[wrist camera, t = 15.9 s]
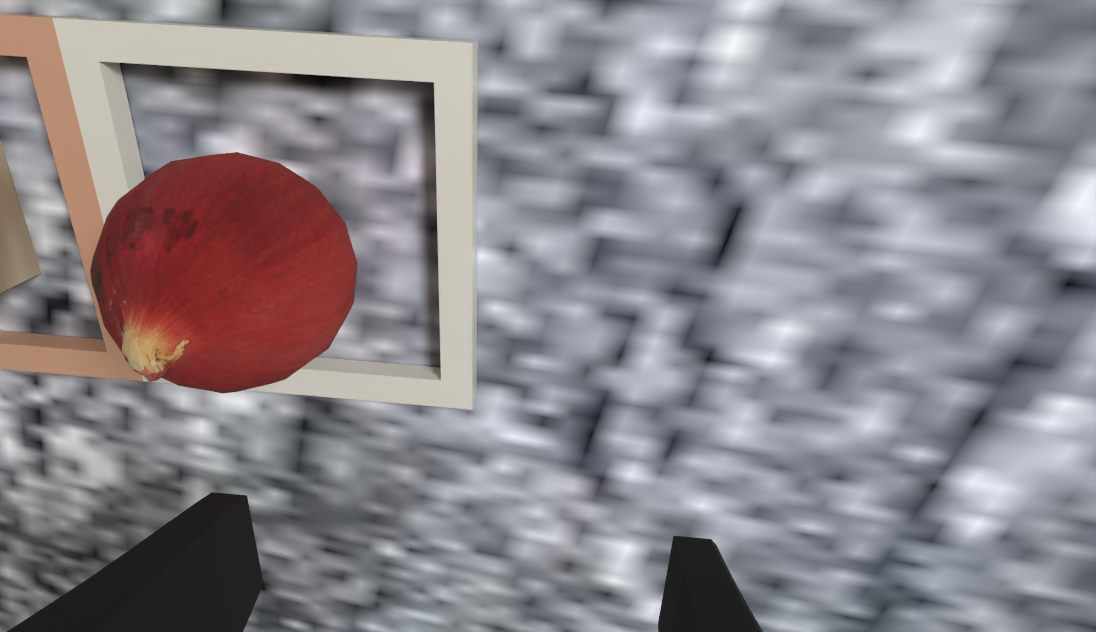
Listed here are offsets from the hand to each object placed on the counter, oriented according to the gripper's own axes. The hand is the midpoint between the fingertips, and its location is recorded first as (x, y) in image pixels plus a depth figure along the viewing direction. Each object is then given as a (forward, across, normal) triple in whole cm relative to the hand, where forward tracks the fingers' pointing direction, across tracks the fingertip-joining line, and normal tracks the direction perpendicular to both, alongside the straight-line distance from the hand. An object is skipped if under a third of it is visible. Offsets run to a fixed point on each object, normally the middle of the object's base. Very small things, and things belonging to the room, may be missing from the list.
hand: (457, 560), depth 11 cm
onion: (+11, +7, -2) cm, 13 cm away
